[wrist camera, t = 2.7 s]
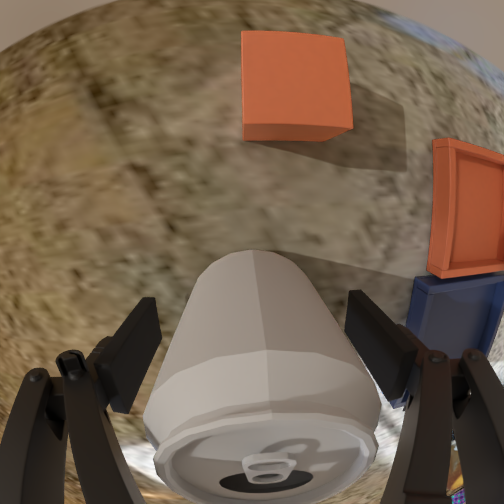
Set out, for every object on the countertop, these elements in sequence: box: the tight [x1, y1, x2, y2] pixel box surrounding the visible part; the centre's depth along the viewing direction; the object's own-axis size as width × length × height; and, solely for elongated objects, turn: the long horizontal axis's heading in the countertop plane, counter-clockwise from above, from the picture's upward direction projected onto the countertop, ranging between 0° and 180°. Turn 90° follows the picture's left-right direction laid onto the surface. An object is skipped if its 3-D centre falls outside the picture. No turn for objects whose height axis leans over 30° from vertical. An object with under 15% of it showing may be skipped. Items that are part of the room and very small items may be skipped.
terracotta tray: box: [426, 138, 504, 279], centre depth 15 cm, size 9×9×2 cm
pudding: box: [450, 488, 466, 504], centre depth 35 cm, size 12×12×5 cm
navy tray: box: [389, 270, 504, 409], centre depth 18 cm, size 11×11×2 cm
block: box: [241, 31, 353, 142], centre depth 12 cm, size 5×5×5 cm
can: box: [143, 249, 382, 504], centre depth 11 cm, size 8×8×12 cm
